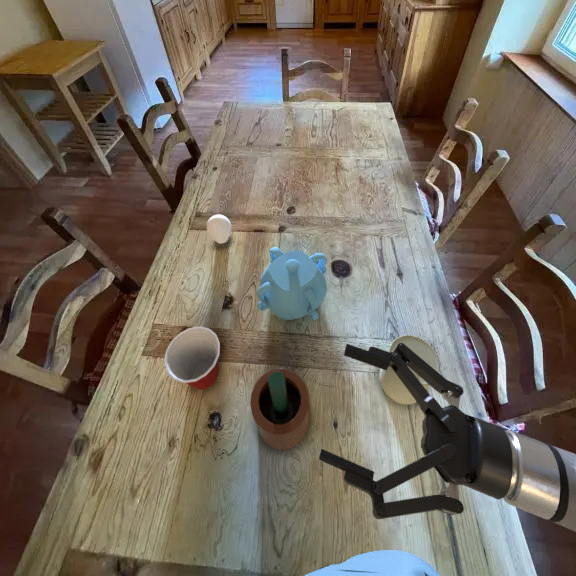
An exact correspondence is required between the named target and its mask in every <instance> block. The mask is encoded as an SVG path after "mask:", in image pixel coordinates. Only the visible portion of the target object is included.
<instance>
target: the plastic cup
mask: <svg viewBox="0 0 576 576" xmlns="http://www.w3.org/2000/svg"><path fill="white" fill-rule="evenodd" d="M220 351H221V344H220V339H219V338H218V335H217V334H216V332H214V331H213V330H212V329H210V328H208V327H205V326H201V325H199V326H192V327H189V328H187V329H185V330H182V331H181V332H179V333H178V334H177V335H176V336H175V337H174V338H173V339H172V340H171V341H170V342H169V345H168V346H167V348H166V350H165V352H164V360H163V365H164V370H165V372H166V374H167V375H168V376H169V378H171V379H172V381H175V382H179V383H181V384H186V385H189V387H190V386H191V387H193V388H195V389H198V390H205V389H208V388H210V387H212V386H213V385H214V384H215V383H216V381H217V379H218V377H219V358H220V354H221V353H220Z"/></svg>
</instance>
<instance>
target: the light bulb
mask: <svg viewBox="0 0 576 576" xmlns="http://www.w3.org/2000/svg"><path fill="white" fill-rule="evenodd" d="M232 230H233V229H232V223H231V221H230V219H229V218H228V217H227V216H225V215H223V214H220V213H219V214H214V215H212V216H211V217H209V218H208V220H207V222H206V232H207V235H208V236H209V238H210V239H211V240H213V241H215V245H216V246H217V247H218V248H225V247H228V246H229V245H230V243H231V238H230V236H231V234H232Z"/></svg>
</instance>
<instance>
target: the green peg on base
mask: <svg viewBox="0 0 576 576" xmlns="http://www.w3.org/2000/svg"><path fill="white" fill-rule="evenodd" d="M268 385H269V389H270V394H271V398H272V402H273V403H272V405H271V408H270V416H271V420H272V423H273V424H281V425H282V424H285V423H288V422H290V421H291V420H292V419H293V418H294V410H293V406H292V404H291V402H290V401H289V400H287V392H286V383H285V377H284V375H283V374H282V373H281V372H278V371H275V372H273V373H271V374H270V376H269V378H268Z"/></svg>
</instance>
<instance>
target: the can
mask: <svg viewBox="0 0 576 576" xmlns="http://www.w3.org/2000/svg"><path fill="white" fill-rule="evenodd" d="M399 343H403V344H405V345H406V346H407V347H408V348H409V349H411V350H412V351H413V352H414V353H415V354H417V355H418V356H419V357H420V358H421V359H423V360H424V361H425V362H426V363H427V364H428V365H430V366H431V367H432V368H433V369H434V370H436V371H437V372H438V373H439V372H440V361H439V357H438V355H437V353H436V351H435V349H434V348H433V347H432V346H431V345H430V344H429V343H428V342H427V341H426V340H425V339H423V338H421V337H419V336H416V335H412V334H403V335H399V336H397V337H396V338H395V339H394V340H393V341H392V342H391V344H389V348H388V350H387V352H393V351H394V350H395V349H396V347H397V345H398V344H399ZM409 369H410V370H411V371H412V372H413V374H414V375H415V376H416V378H417V379H418V380H419V381H420V383H421V384H422V385H423V387H424V388H425V389H426V390H427V389H428V388H429V386H430V385H429V384H428V383H427V382H426V381H424V380H423V379H422V378H421V377H420V376H419V375H418V374H416V373H415V372H414V371H413V370H412V369H411V368H410V367H409ZM378 377H379V378H378V379H379V383H380V386H381V388H382V390H383V391H384V393H385V394H386V395H387V396H388V397H389V398H390V399H391V400H392V401H394V402H395V403H398V404H400V405H405V406H406V405H407V406H408V405H414V404H416V403H417V401H416V400H415V399H414V397H413V396H412V395H411V393H410V392H409V391H408V389H407V388H406V387H405V385H404V384H403V383H402V381H401V380H400V379H399V377H398V376H397V375H396V373H395V372H394V371H393V369H392V368H391V367H390V366H389V367H388V369H387V371H386V370H383V369H381V368H379V374H378Z"/></svg>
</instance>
